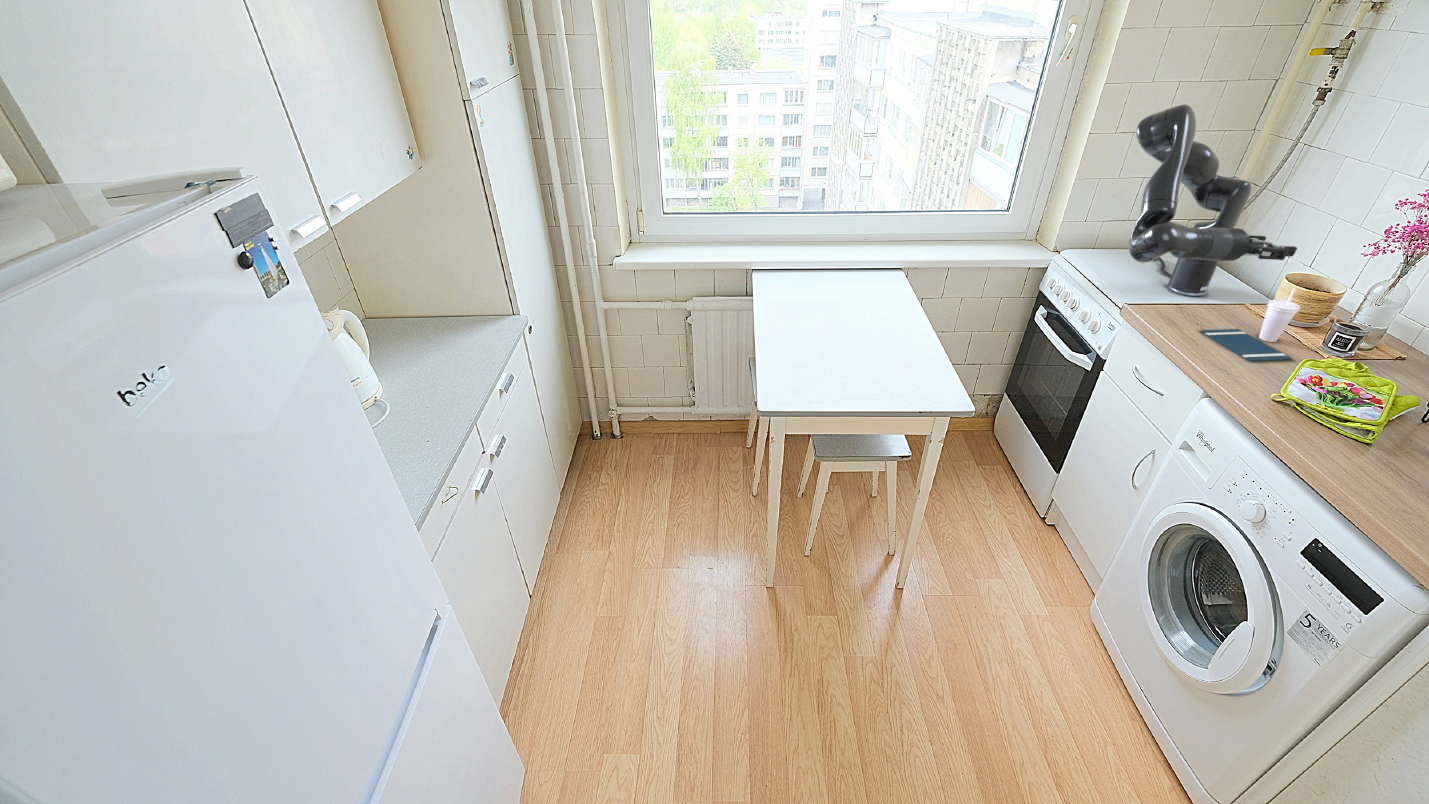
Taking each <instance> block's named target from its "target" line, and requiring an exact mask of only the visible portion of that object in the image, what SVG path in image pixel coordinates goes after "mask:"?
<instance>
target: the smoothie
mask: <svg viewBox="0 0 1429 804" xmlns="http://www.w3.org/2000/svg"><path fill="white" fill-rule="evenodd" d="M1296 290H1297V288H1296V287H1293V289H1292V290H1291V292H1290V294H1289V296H1288V299H1287V300H1284V299H1271V300H1269V301H1268V303H1267V304H1266V306H1267V309H1266V311H1265V316H1264V319H1263V323H1262V326H1261V329H1260V332H1259V335H1258V338H1259V339H1260V340H1262V341H1265V342H1270V343H1276V342H1277V341H1278V340H1279V338H1280V337H1281V336H1282V334H1283V333H1284V331H1285V329H1286V328H1287V326H1288V325H1289V324H1290V322H1291V321H1292V320H1293V318H1294V316H1295V315H1296V314H1297V313H1299V312H1300V309H1301V306H1300V305H1299V304H1297V303H1296V302H1293V301H1291V300H1292V298H1293V297H1294V295H1295V292H1296Z"/></svg>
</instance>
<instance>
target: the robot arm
mask: <svg viewBox="0 0 1429 804" xmlns="http://www.w3.org/2000/svg"><path fill="white" fill-rule="evenodd" d="M1196 131H1197V118H1196V114H1195V112H1194V109H1193V108H1192V106H1190V105H1189V104H1180V105H1176V106H1172V107H1170V108H1166V109H1164V110H1160V111H1158V112H1154V113H1152V114H1149V115H1147V116H1146V117H1144V118H1142V119H1141V120H1140V121H1139V123H1137V127H1136V131H1135V133H1136V140H1137V141H1138V144H1139V146H1140V147H1141V149H1142V151H1144V153H1146V154H1147V155H1149V156H1150V157H1152V158H1153V159H1154V160H1156V161H1157V162H1159V163H1160V165H1159V166H1158V168H1157V169H1156V170H1155V171H1154V173H1153V174H1152V175H1151V176H1150V178H1149V179H1148V181H1147V182H1146V184H1145V187H1144V188H1143V192H1142V196H1141V202H1140V203H1141V204H1140V212H1139V216H1138V218H1137V220H1136V222H1135V224H1134V226H1133V229H1132V231H1131V234H1130V237H1129V239H1128V251H1129V255H1130V256H1131V258H1132V259H1133V260H1134V261H1136V262H1138V263H1148V262H1152V261H1157V260H1158V261H1159V263H1160V265H1161V267H1160V271H1161V273H1162V274H1164V275H1165V276H1166V277H1168V278H1169V281H1168V284H1167V287H1168V288H1169V290H1170V291H1171V292H1173V293H1176V294H1179V295H1183V296H1188V297H1203V296H1206V294H1207V290H1208V289H1209V287H1210V286H1209V285H1210V283H1211V282H1212V280H1213V277H1214V274H1215V272H1216V269H1217V267H1218V264H1219V262H1233V261H1236V260H1238V259H1240V258H1242V257H1243V256H1247V257H1251V256H1253V257H1257V258H1258V259H1259V260H1275V261H1276V260H1277V261H1284V260H1285V259H1286V257H1293V256H1294V255H1295V254H1296V252H1297V250H1298V247H1297V246H1292V245H1291V246H1290V245H1277V244H1274V243H1273V242H1272V241H1269V240H1268V241H1267V240H1266V239H1267V236H1265V235H1252V234H1250V233H1247V231H1245V230H1244V229H1243V228H1239V227H1236V225H1237V223H1238V222H1239V220H1240V217H1241V215H1242V213H1243V211H1244V209H1245V207H1246V205H1247V203H1248V201H1249V199H1250V196H1251V193H1252V183H1251V182H1250V181H1248V180H1245V179H1240V178H1236V177H1235V178H1234V177H1229V176H1223V175H1219V174H1218V172H1219V169H1220V160H1219V158H1218V156H1217V155H1216V153H1215V152H1214V151H1213V149H1212V148H1211V147H1210V146H1208V145H1206V144H1205V143H1203V142H1200V141H1199V142H1198V141H1195V136H1196ZM1181 184H1182V185H1183V186H1184V187H1185V188H1186V189H1187V190H1188V191H1189V192H1190V194H1191V195H1192V197H1193V198H1194V201H1195V202H1196V204H1197V205H1198V206H1199V207H1200V208H1202V209H1204V210H1208V211H1212V212H1217V213H1219V214H1218V216H1217V217H1216V219H1213V220H1203V221H1198V222H1195V223H1194V224H1193V226H1192V227H1189V226H1187V225H1184V224H1183V225H1182V224H1181V223H1177V222H1173V219H1174V217H1175V216H1176V213H1177V207H1178V201H1179V200H1178V199H1179V192H1180V191H1179V190H1180V186H1181ZM1264 245H1265V246H1264ZM1167 253H1170V255H1171V256H1172V257H1174V258H1177V260H1176V263H1175V265H1174V268H1173V270H1172V273H1171V274H1170V273H1169V272H1167V271H1166V270H1165V268H1166V263H1165V261H1164V260H1163V258H1161V257H1162V256H1163V255H1166V254H1167Z"/></svg>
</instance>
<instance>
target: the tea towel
mask: <svg viewBox="0 0 1429 804" xmlns="http://www.w3.org/2000/svg"><path fill="white" fill-rule="evenodd" d="M1200 333H1202V334H1203V335H1205V336H1206V337H1208V338H1210V339H1212V340H1214V341H1215V342H1217V343H1219V344H1220V345H1222V346H1224V347H1225V348H1227V349H1229V350H1230V351H1232V352H1234V353H1235V354H1237V355H1239V356H1241V357H1242V358H1244V359H1245V360H1248V361H1249V362H1271V361H1272V362H1273V361H1274V362H1275V361H1292V359H1293V358H1292V357H1291V356H1288V355H1287V354H1285V353H1283V352H1281V351H1279V350H1277V349H1276V348H1273V347H1272V346H1270V345H1268V344H1266V343H1265V342H1263V341H1261V340H1259V339H1257V338H1255V337H1253V336H1252V335H1250V334H1249V333H1247V332H1244V331H1242V330H1241V329H1239V328H1236V329H1235V328H1234V329H1233V328H1232V329H1208V330H1207V329H1206V330H1205V329H1203V330H1200Z"/></svg>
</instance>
